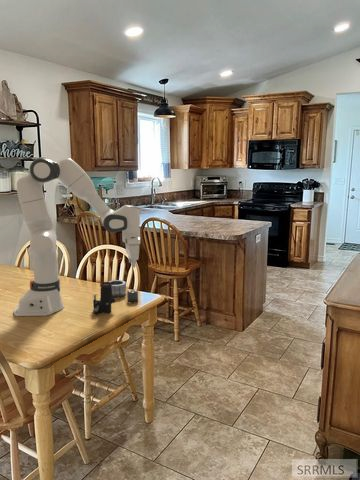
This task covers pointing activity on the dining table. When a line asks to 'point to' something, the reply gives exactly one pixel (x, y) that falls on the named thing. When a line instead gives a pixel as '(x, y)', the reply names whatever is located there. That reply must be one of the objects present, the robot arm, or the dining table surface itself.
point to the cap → (132, 296)
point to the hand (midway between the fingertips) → (132, 264)
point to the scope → (104, 299)
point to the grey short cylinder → (118, 288)
